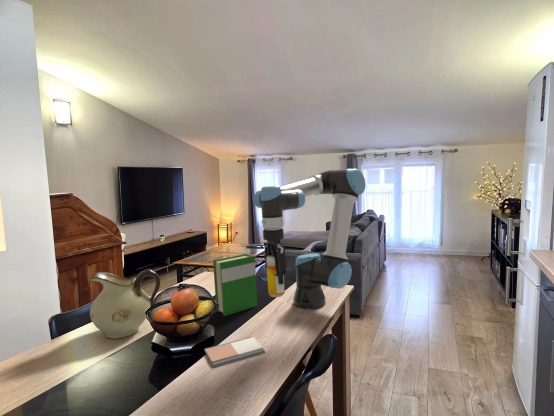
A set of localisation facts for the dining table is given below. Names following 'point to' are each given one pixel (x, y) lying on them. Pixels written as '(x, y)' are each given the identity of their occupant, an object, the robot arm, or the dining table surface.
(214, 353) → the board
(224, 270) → the hardback book
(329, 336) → the dining table surface
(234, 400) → the dining table surface
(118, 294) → the pitcher
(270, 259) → the yellow bottle
